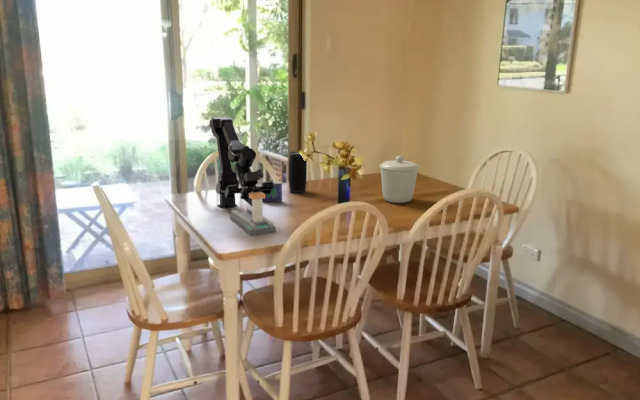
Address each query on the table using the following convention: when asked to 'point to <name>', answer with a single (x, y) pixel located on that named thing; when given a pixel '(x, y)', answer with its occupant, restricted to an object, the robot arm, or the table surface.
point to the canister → (398, 180)
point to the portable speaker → (297, 173)
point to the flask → (274, 194)
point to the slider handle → (257, 208)
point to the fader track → (251, 223)
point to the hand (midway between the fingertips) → (255, 208)
